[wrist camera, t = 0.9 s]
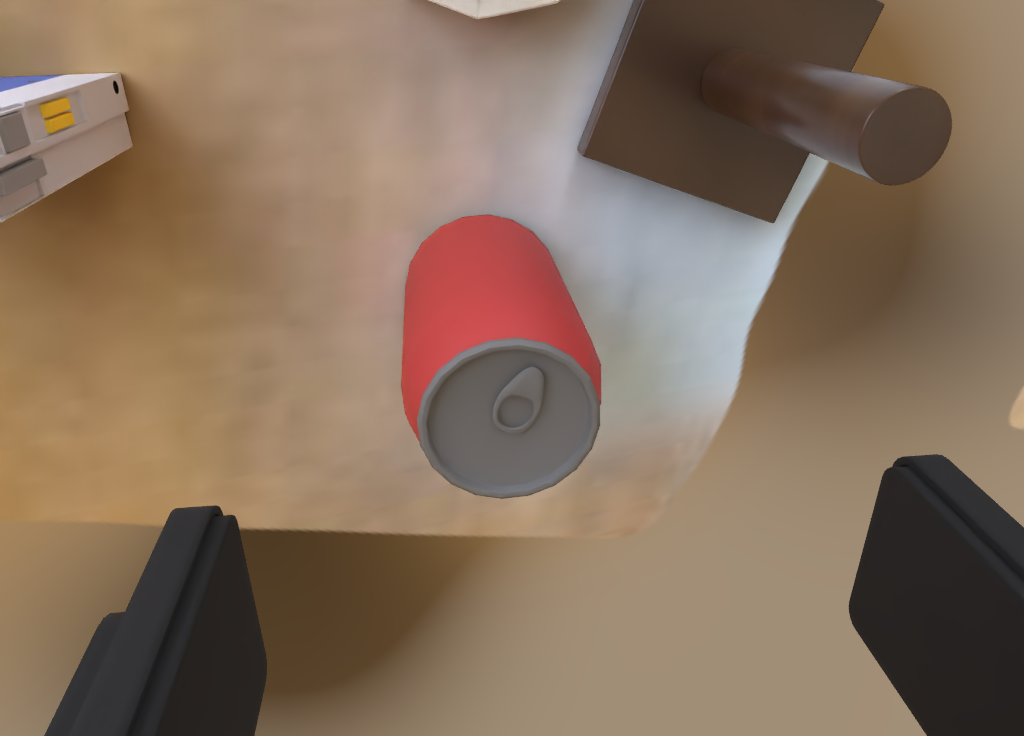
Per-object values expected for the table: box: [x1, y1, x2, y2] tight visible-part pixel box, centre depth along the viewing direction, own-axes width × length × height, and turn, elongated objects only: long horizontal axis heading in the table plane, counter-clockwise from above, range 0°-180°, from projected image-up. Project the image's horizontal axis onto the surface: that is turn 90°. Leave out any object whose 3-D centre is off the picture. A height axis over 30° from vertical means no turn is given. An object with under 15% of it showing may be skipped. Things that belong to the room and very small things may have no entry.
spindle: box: [578, 0, 952, 223], centre depth 25 cm, size 9×9×13 cm
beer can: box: [401, 215, 601, 499], centre depth 28 cm, size 7×7×12 cm
